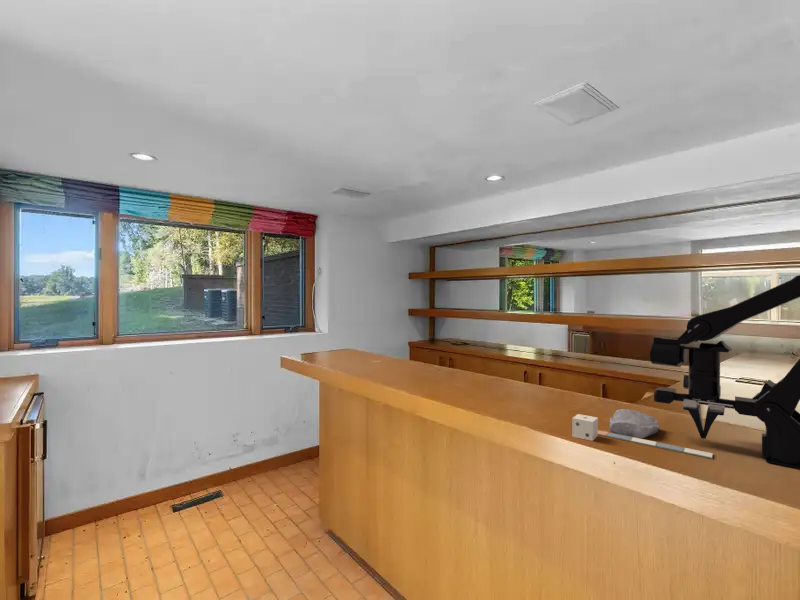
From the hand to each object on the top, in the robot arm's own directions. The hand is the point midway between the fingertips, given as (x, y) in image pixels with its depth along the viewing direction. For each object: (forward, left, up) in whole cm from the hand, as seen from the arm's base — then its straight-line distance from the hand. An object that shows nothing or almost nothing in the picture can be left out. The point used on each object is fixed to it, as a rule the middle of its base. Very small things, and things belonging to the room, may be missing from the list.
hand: (703, 438), depth 91 cm
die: (+22, +13, -1) cm, 26 cm away
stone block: (+14, 0, -2) cm, 14 cm away
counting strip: (+10, +8, -1) cm, 13 cm away
